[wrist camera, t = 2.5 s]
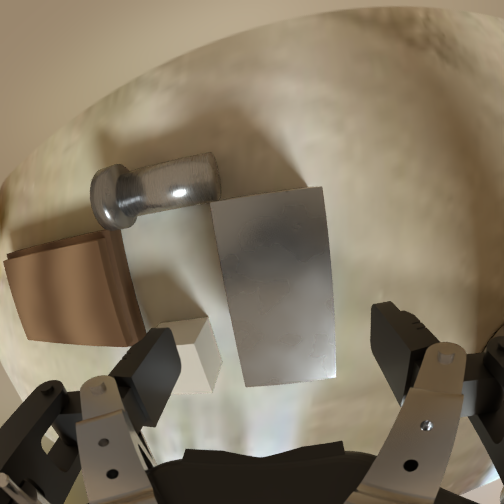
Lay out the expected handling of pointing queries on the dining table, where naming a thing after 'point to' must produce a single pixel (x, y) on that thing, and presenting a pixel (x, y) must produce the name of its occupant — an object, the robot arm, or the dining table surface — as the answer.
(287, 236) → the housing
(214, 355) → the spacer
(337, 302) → the dining table surface
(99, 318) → the stand
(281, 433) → the dining table surface
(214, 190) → the bolt
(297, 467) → the robot arm
